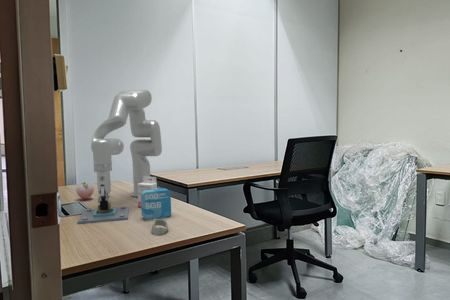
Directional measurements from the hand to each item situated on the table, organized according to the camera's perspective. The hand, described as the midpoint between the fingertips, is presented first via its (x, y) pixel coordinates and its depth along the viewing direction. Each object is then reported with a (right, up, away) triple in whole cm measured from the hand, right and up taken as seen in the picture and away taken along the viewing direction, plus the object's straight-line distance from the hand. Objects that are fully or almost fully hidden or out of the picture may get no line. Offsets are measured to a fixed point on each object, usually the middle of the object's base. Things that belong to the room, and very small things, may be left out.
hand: (104, 207), depth 154 cm
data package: (+24, -4, -4) cm, 24 cm away
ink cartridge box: (+16, -2, +15) cm, 22 cm away
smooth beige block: (0, -1, 0) cm, 1 cm away
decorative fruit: (-22, -1, +34) cm, 40 cm away
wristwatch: (+29, -5, -23) cm, 37 cm away
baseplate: (0, -4, 0) cm, 4 cm away
